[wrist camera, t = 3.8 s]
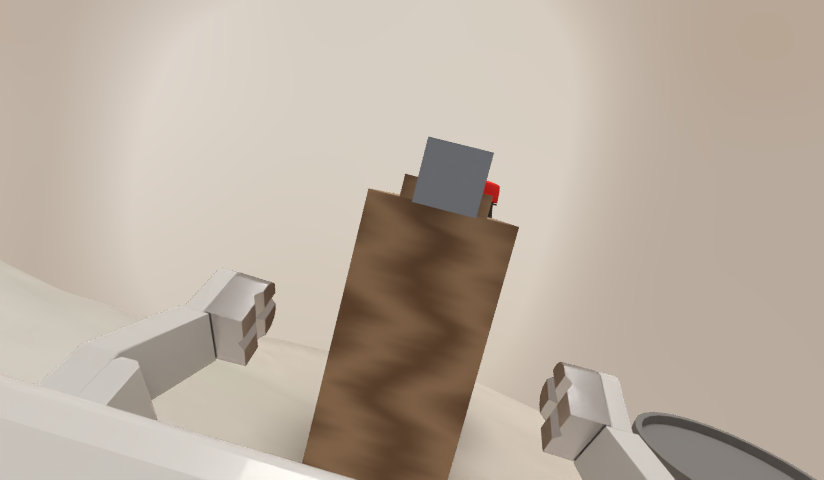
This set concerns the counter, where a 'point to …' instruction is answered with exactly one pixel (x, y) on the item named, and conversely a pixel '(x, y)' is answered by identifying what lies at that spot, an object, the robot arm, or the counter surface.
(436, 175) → the gray block
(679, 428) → the reusable coffee cup
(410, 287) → the walnut block
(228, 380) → the counter surface
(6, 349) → the counter surface
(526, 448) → the counter surface
